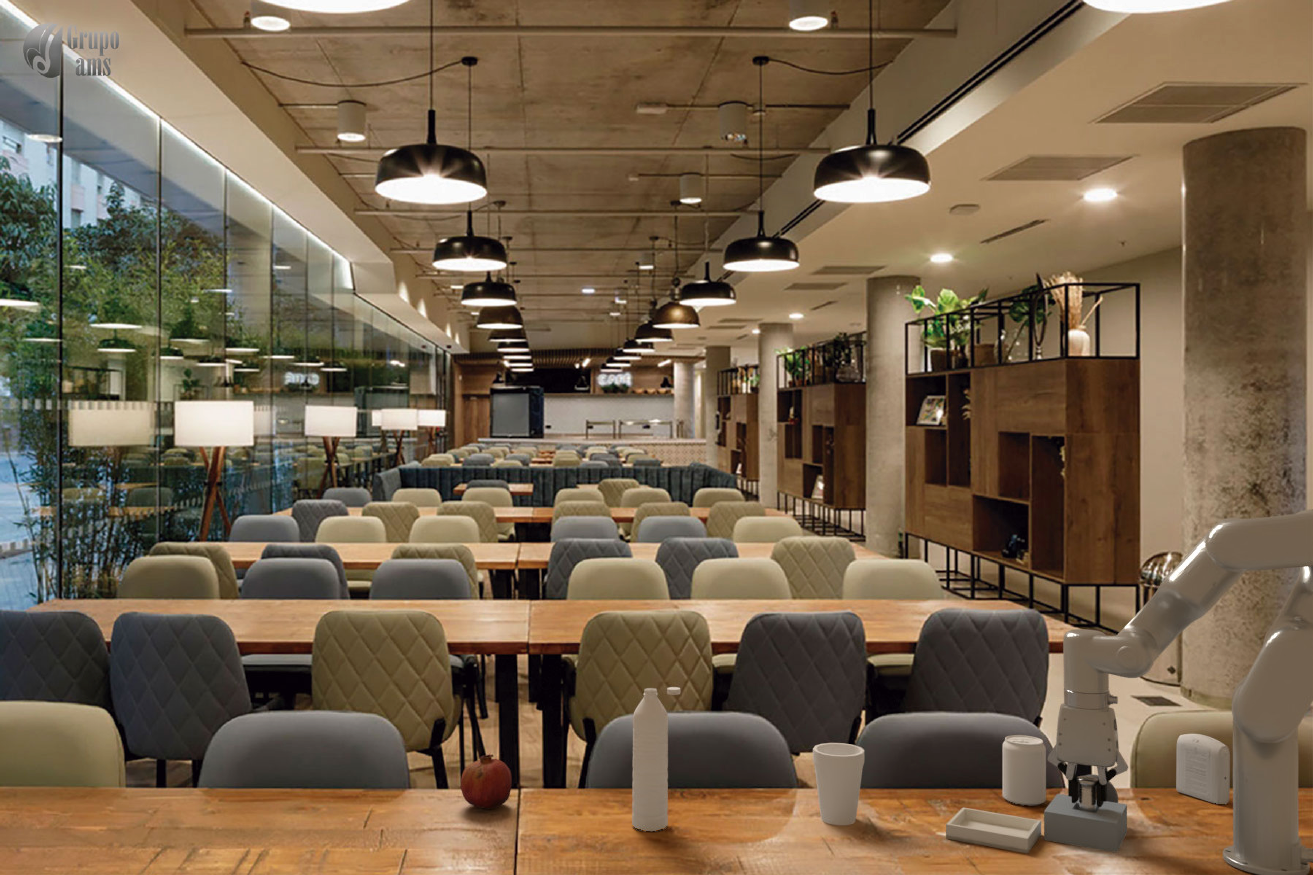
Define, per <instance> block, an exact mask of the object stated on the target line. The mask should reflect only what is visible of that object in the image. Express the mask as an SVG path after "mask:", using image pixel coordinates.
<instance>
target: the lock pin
mask: <svg viewBox="0 0 1313 875" xmlns="http://www.w3.org/2000/svg"><path fill="white" fill-rule="evenodd" d="M1097 783H1098V779H1097V778H1094V777H1090V776H1085V775H1080V776H1078V775H1077V784H1079V810H1082V811H1088V812H1094V813H1096V785H1097Z"/></svg>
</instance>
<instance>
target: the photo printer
mask: <svg viewBox="0 0 1313 875" xmlns="http://www.w3.org/2000/svg"><path fill="white" fill-rule="evenodd" d="M1230 754H1231V753H1230V748H1229V747H1228V746H1227V745H1226V744H1224V743H1223V742H1222V741H1220V740H1218V739H1216V738H1213V737H1211V736H1208V735H1204V734H1200V733H1185V734H1180V735H1179V737H1177V741H1176V764H1175V765H1176V767H1175V768H1176V773H1175V775H1176V776H1175V778H1176V779H1175V780H1176V781H1175V782H1176V785H1175V786H1176V791H1177V792H1178V793H1181V794H1184V795H1187V796H1190V797H1194V798H1197V799H1200V800H1203V801H1206V802H1208V803H1213V804H1215V803H1216V805H1218V804H1225V805H1227V803H1228V804H1229V802H1230V796H1231V793H1230V791H1231V790H1230V789H1231V788H1230V785H1231V783H1230V782H1231V781H1230V780H1231V779H1230V778H1231V777H1230V775H1231V772H1230V771H1231V767H1230V766H1231V758H1230V757H1231V755H1230Z"/></svg>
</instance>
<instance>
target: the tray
mask: <svg viewBox="0 0 1313 875" xmlns="http://www.w3.org/2000/svg"><path fill="white" fill-rule="evenodd" d="M1041 836H1042V820H1041V819H1040V820H1039V819H1034V818H1027V817H1021V816H1018V815H1017V816H1016V815H1011V814H1004V813H999V812H992V811H986V810H982V809H975V808H967V807H962V808H960V810H958V811H957V813H956V814H955V815H953V816H952V818H951V819H950V820H949V821H947V823H945V839H946V840H947V839H948V840H952V841H959V842H964V843H969V844H974V845H979V846H985V847H990V848H996V849H1001V850H1005V851H1006V850H1007V851H1012V852H1017V853H1024V854H1029V852H1031V850H1032V848H1033V847H1034V845H1035V844H1036V843H1037V841H1038V840H1039V838H1040V837H1041Z"/></svg>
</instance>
